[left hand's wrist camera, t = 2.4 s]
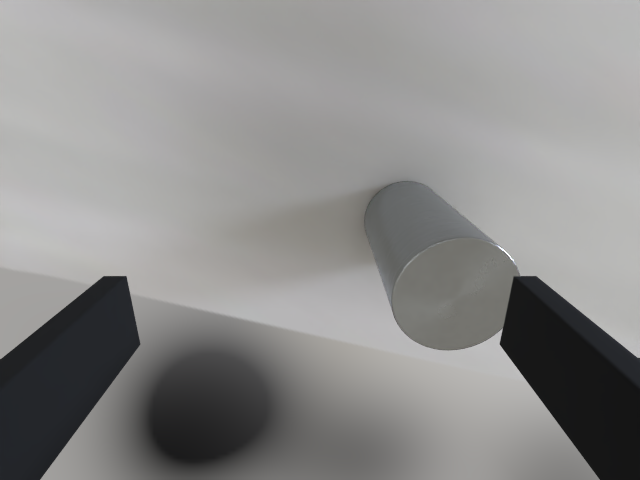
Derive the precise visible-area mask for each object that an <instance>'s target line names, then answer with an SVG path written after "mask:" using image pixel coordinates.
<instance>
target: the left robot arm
mask: <svg viewBox="0 0 640 480" xmlns="http://www.w3.org/2000/svg"><path fill="white" fill-rule="evenodd" d="M139 345H140V341H139V336H138V331H137V326H136V321H135V316H134V311H133V306H132V301H131V296H130V292H129V287H128V282H127V277H126V276H104V277H102V278H101V279H100V280H99V281H97V282H96V283H95V284H94V285H92V286H91V287H90V288H89V289H88V290H86V291H85V292H84V293H82V294H81V295H80V296H79V297H77V298H76V299H75V300H74V301H73V302H71V303H70V304H69V305H68V306H66V307H65V308H64V309H63V310H61V311H60V312H59V313H58V314H56V315H55V316H54V317H53V318H51V319H50V320H49V321H48V322H47V323H45V324H44V325H43V326H42V327H40V328H39V329H38V330H37V331H35V332H34V333H33V334H32V335H30V336H29V337H28V338H27V339H25V340H24V341H23V342H22V343H20V344H19V345H18V346H17V347H15V348H14V349H13V350H12V351H11V352H9V353H8V354H7V355H6V356H4V357H3V358H2V359H0V480H40V479H41V478H42V476H43V475H44V474H45V472H46V471H47V470H48V468H49V467H50V465H51V464H52V463H53V461H54V460H55V459H56V457H57V456H58V455H59V453H60V452H61V451H62V449H63V448H64V447H65V445H66V444H67V443H68V441H69V440H70V438H71V437H72V436H73V434H74V433H75V432H76V430H77V429H78V428H79V426H80V425H81V424H82V422H83V421H84V420H85V418H86V417H87V415H88V414H89V413H90V412H91V410H92V409H93V408H94V406H95V405H96V403H97V402H98V401H99V399H100V398H101V397H102V395H103V394H104V393H105V391H106V390H107V389H108V387H109V386H110V385H111V383H112V382H113V380H114V379H115V378H116V376H117V375H118V374H119V372H120V371H121V370H122V368H123V367H124V366H125V364H126V363H127V362H128V360H129V359H130V358H131V356H132V355H133V354H134V352H135V351H136V349H137V348H138V347H139ZM500 345H501V347H502V348H503V349H504V351H505V352H506V354H507V355H508V356H509V358H510V359H511V360H512V362H513V363H514V364H515V366H516V367H517V368H518V370H519V371H520V372H521V374H522V375H523V376H524V378H525V379H526V381H527V382H528V383H529V385H530V386H531V387H532V389H533V390H534V391H535V393H536V394H537V395H538V397H539V398H540V399H541V401H542V402H543V403H544V405H545V406H546V407H547V409H548V410H549V411H550V413H551V414H552V416H553V417H554V418H555V420H556V421H557V422H558V424H559V425H560V426H561V428H562V429H563V430H564V432H565V433H566V434H567V436H568V437H569V439H570V440H571V441H572V443H573V444H574V445H575V447H576V448H577V449H578V451H579V452H580V453H581V455H582V456H583V457H584V459H585V460H586V461H587V463H588V464H589V466H590V467H591V468H592V470H593V471H594V472H595V474H596V475H597V476H598V478H599V479H600V480H640V358H637V357H636V356H634V355H633V354H632V353H631V352H629V351H628V350H627V349H626V348H625V347H623V346H622V345H621V344H620V343H618V342H617V341H616V340H615V339H613V338H612V337H611V336H610V335H608V334H607V333H606V332H605V331H603V330H602V329H601V328H600V327H598V326H597V325H596V324H595V323H594V322H592V321H591V320H590V319H589V318H587V317H586V316H585V315H584V314H582V313H581V312H580V311H579V310H577V309H576V308H575V307H574V306H572V305H571V304H570V303H569V302H567V301H566V300H565V299H564V298H563V297H561V296H560V295H559V294H558V293H556V292H555V291H554V290H553V289H551V288H550V287H549V286H548V285H546V284H545V283H544V282H543V281H541V280H540V279H539V278H538V277H536V276H514V277H513V282H512V287H511V292H510V296H509V301H508V306H507V311H506V316H505V321H504V326H503V331H502V336H501V341H500Z"/></svg>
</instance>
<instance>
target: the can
mask: <svg viewBox="0 0 640 480" xmlns="http://www.w3.org/2000/svg"><path fill="white" fill-rule="evenodd" d="M364 226H365V231H366V234H367V237H368V240H369V243H370V246H371V249H372V252H373V255H374V258H375V261H376V264H377V267H378V270H379V273H380V276H381V279H382V282H383V285H384V288H385V291H386V294H387V297H388V300H389V303H390V306H391V309H392V312H393V315H394V318H395V320H396V322H397V324H398V325H399V327H400V328H401V330H402V331H403V332H404V333H405V334H406V335H407V336H408V337H410V338H411V339H412V340H414V341H415V342H417V343H419V344H421V345H423V346H426V347H429V348H433V349H438V350H458V349H464V348H468V347H472V346H475V345H477V344H480V343H482V342H484V341H486V340H488V339H489V338H491V337H492V336H494V335H495V334H496V333H498V332H499V331H500V330H501V329H502V328H503V326H504V321H505V316H506V311H507V306H508V301H509V296H510V292H511V287H512V282H513V277H514V276H520V273H519V270H518V268H517V266H516V264H515V262H514V260H513V259H512V258H511V256H510V255H509V254H508V253H507V252H506V251H505V250H504V249H502V248H501V247H500V246H499V245H498V244H496V243H495V242H494V241H493V240H492V239H490V238H489V237H488V236H487V235H486V234H484V233H483V232H482V231H481V230H480V229H478V228H477V227H476V226H475V225H474V224H472V223H471V222H470V221H469V220H468V219H466V218H465V217H464V216H463V215H462V214H460V213H459V212H458V211H457V210H456V209H454V208H453V207H452V206H451V205H449V204H448V203H447V202H446V201H445V200H443V199H442V198H441V197H440V196H439V195H437V194H436V193H435V192H434V191H433V190H431V189H430V188H429V187H427V186H425V185H423V184H420V183H417V182H412V181H403V182H397V183H394V184H391V185H389V186H387V187H385V188H383V189H382V190H381V191H379V192H378V193H377V194H376V195H375V196H374V197H373V199H372V200H371V201H370V203H369V205H368V207H367V210H366V213H365V219H364Z"/></svg>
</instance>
